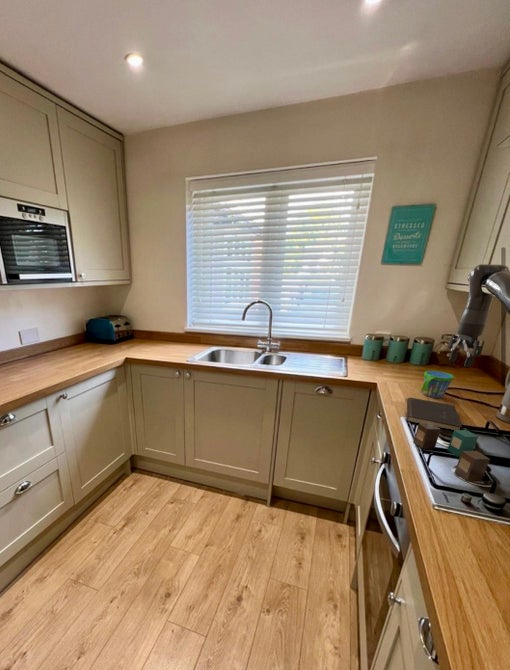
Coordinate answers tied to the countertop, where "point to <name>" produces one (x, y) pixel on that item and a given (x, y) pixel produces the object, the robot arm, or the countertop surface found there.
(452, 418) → the hardcover book
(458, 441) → the teal block
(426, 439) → the walnut block
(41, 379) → the countertop surface
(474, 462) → the walnut block
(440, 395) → the snack cup
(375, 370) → the countertop surface
